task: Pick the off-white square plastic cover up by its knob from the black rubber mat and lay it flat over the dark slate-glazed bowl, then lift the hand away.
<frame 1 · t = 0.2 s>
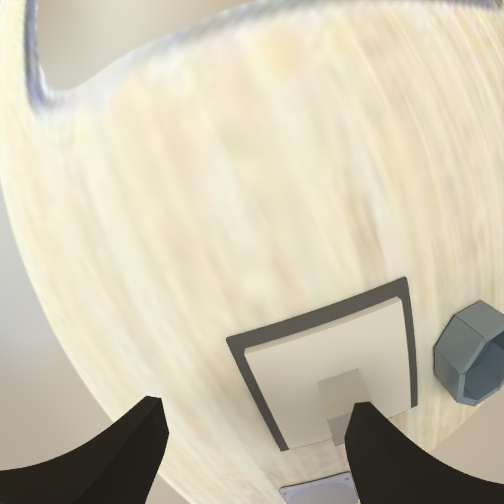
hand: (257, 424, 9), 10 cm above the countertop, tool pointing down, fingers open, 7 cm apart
bowl: (465, 341, 19), on the countertop
cover: (339, 383, 20), resting on mat
mat: (338, 380, 20), on the countertop
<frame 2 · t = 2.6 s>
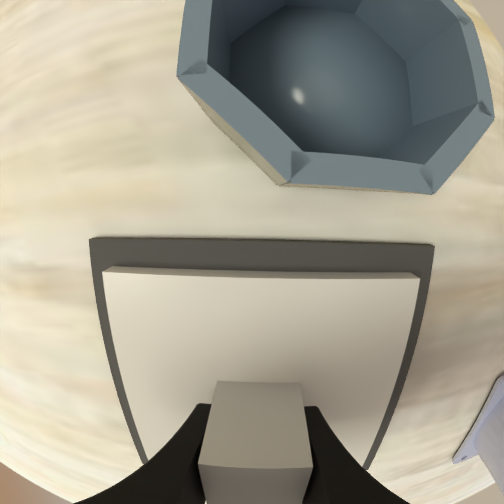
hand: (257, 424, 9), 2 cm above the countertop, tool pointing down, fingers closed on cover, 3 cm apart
bowl: (321, 86, 9), on the countertop
cover: (258, 398, 11), resting on mat, touching gripper
mat: (258, 392, 11), on the countertop
when the fingers open (7 cm above the countertop, at t = 5.5 s): cover drops 1 cm, resting on bowl.
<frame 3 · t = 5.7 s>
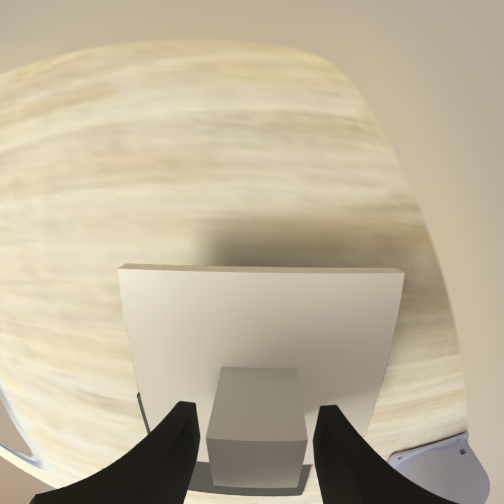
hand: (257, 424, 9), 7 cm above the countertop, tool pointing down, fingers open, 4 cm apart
cover: (258, 384, 12), point 4 cm above the countertop, touching bowl
mat: (231, 457, 19), on the countertop
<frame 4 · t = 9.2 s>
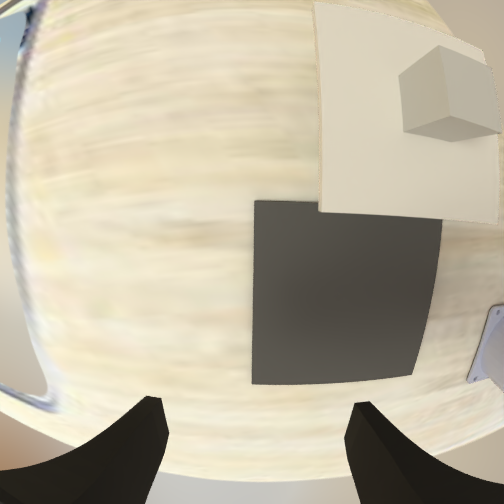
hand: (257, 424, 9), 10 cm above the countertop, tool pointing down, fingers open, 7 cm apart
cover: (419, 111, 12), point 4 cm above the countertop, touching bowl
mat: (349, 302, 19), on the countertop
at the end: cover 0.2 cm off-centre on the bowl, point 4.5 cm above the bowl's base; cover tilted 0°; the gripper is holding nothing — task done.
